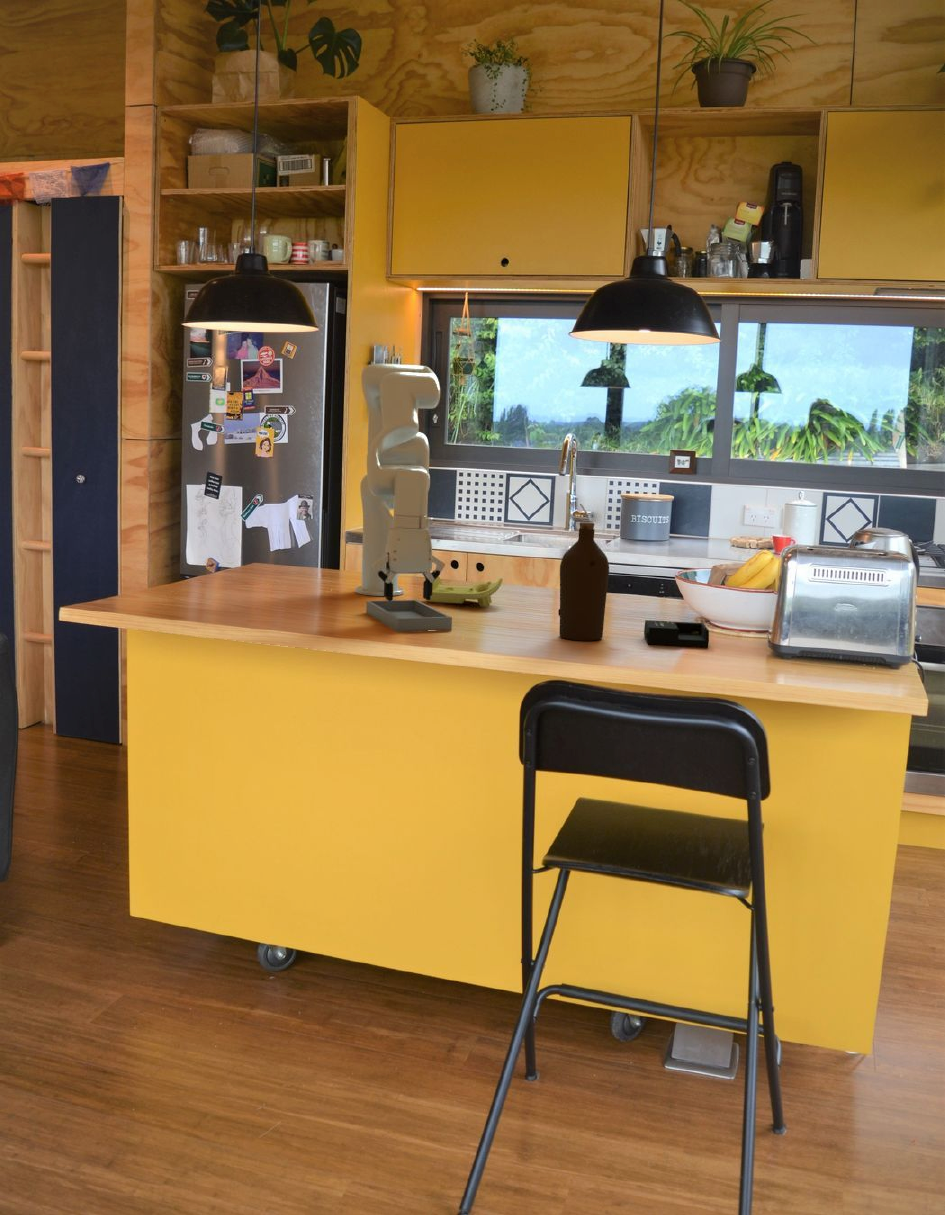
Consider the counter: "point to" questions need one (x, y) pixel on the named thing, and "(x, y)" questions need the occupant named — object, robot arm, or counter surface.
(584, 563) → the olive oil
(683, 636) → the battery charger
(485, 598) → the plastic component
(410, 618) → the tray
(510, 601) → the counter surface
